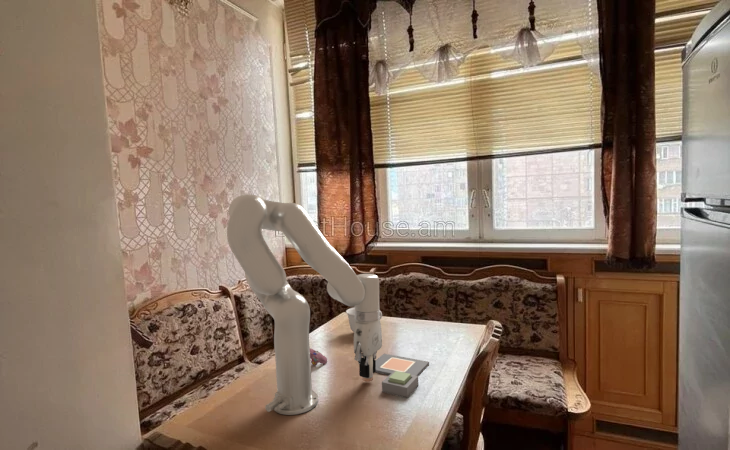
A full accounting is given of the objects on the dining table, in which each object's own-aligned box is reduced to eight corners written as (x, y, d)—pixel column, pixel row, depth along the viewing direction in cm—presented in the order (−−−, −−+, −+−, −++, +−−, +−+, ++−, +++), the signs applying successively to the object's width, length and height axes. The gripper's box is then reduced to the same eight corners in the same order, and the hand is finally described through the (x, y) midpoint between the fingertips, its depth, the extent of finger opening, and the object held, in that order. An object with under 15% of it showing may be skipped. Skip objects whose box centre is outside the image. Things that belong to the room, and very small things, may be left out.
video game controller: (299, 366, 138) (292, 352, 135) (306, 356, 142) (299, 342, 138) (323, 371, 134) (316, 357, 130) (329, 360, 137) (323, 346, 134)
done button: (404, 387, 112) (404, 380, 112) (389, 384, 115) (389, 377, 115) (411, 380, 117) (410, 373, 116) (396, 377, 119) (396, 370, 119)
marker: (369, 382, 118) (369, 350, 118) (360, 380, 120) (359, 348, 119) (375, 378, 121) (375, 346, 120) (365, 376, 123) (365, 344, 122)
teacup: (383, 338, 157) (382, 314, 157) (345, 339, 158) (344, 315, 157) (382, 328, 169) (381, 305, 169) (347, 329, 170) (346, 306, 169)
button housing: (407, 398, 110) (407, 387, 110) (382, 392, 114) (381, 382, 114) (418, 385, 117) (418, 376, 117) (394, 380, 121) (393, 371, 121)
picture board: (413, 380, 121) (413, 377, 121) (365, 370, 129) (365, 367, 129) (429, 364, 132) (429, 361, 132) (384, 355, 141) (384, 353, 140)
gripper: (364, 324, 110) (364, 388, 111) (390, 310, 124) (390, 367, 126) (341, 320, 114) (342, 382, 115) (369, 307, 128) (370, 362, 129)
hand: (367, 373), depth 120 cm, fingers closed on marker, 3 cm apart
